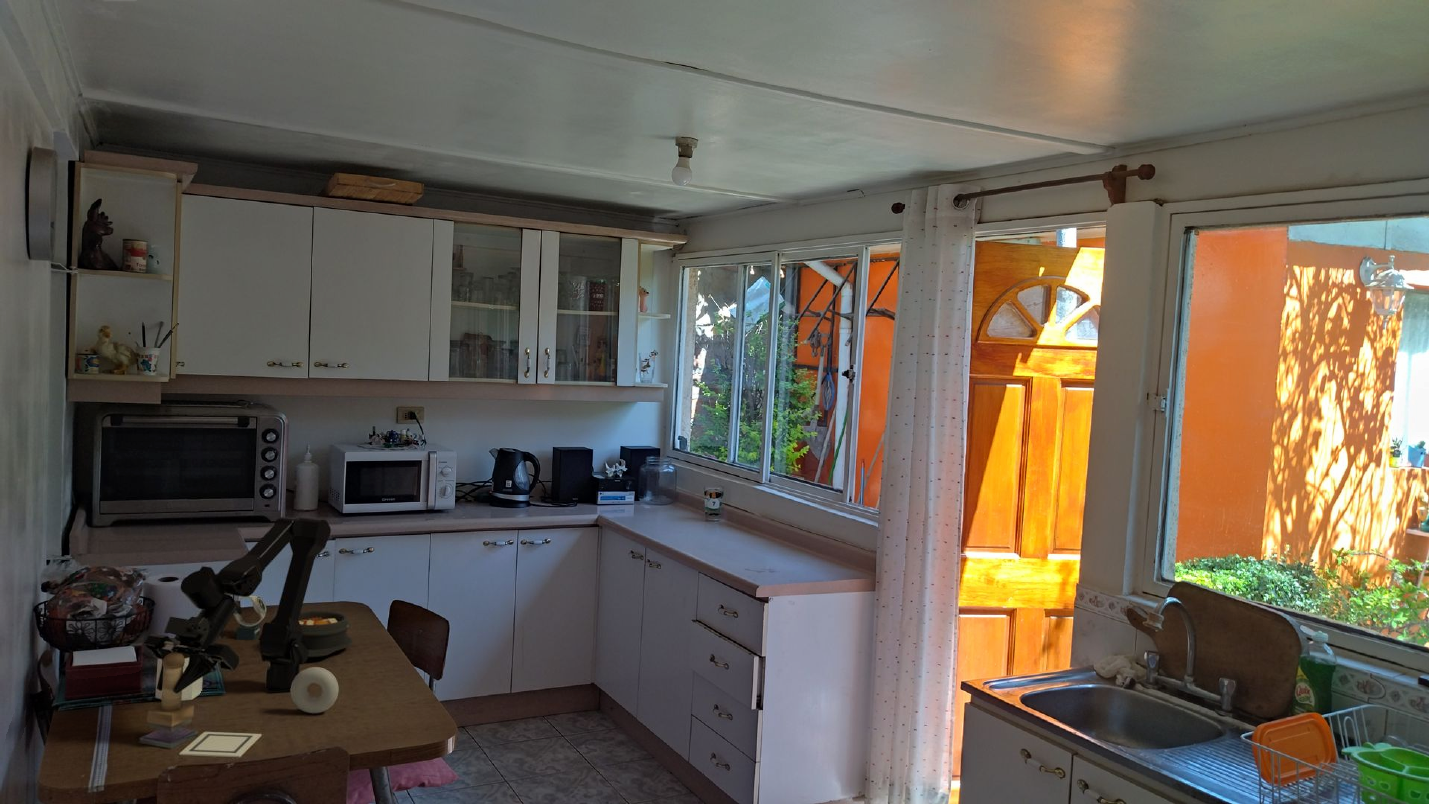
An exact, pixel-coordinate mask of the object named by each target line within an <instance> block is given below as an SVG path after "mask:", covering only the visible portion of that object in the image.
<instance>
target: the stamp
mask: <svg viewBox="0 0 1429 804" xmlns="http://www.w3.org/2000/svg"><path fill="white" fill-rule="evenodd" d="M184 663H185V659H184V656H183V655H182V654H180V653H178V652H172V653H169V654H168V655H166V656H165V658H164V659H163V685H162V700H161V704H160V705H159V706H157V707H155V708H152V709H150V710H147V715H146V716H147V717H146V718H147V719H146V722H147V723H148V728H150V729H151V728H152V729H157V730H159V729H161V730H167V731H173V730H175V729H178V728H183V727H184V726H186V725H188V724H190V723H192V718H194V711H195V706H194V705H190V704H184V703H182V701H181V699H182V691H180V692H179V693H177V694H176V693H174V692H173V690H174V688H175V686H176V684H177V682H178V680H179V679H180V677H181V676H182V674H183V666H184Z"/></svg>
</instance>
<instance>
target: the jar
mask: <svg viewBox="0 0 1429 804" xmlns="http://www.w3.org/2000/svg"><path fill="white" fill-rule="evenodd" d="M169 638H170V639H171V640H172V641H173V642H174V643H175V644H180V641H177V640H176V639H175V637H169ZM183 656H184V659H185V663H184V666H183V672H184V671H185V669H186V667H187V666H188V663H189V657H190V656H185V655H183ZM156 663H157V666H156V667H157V668H156V669H157V670H156V682H155V696H154V697H155V699H158V700H161V701H162V690H161V691H159V690H158V689H157V685H158V680H159V676H160V672H161V667H162V659H158V658H157V662H156ZM203 678H204V676H203V677H201V678H200V679H198V680H196V681H195V682H193V683H192V684H191V685H189V686H188V687H186V688H185V689H183V690H182V699H181V702H185V701H192V700H194V699H196V697H198V696H199V695H201V694H202V693H201V691H202V692H203ZM200 693H201V694H200Z"/></svg>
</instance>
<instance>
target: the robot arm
mask: <svg viewBox="0 0 1429 804" xmlns="http://www.w3.org/2000/svg"><path fill="white" fill-rule="evenodd" d="M331 531H332V529H331V526H330V524H329V523H328V521H327V520H326V519H322V518H321V519H320V518H314V517H306V516H299V517H297V518H295V517H289V516H288V517H286V516H281V517H278V518H277V519H276V520H275V522H274V524H273V526H272V527H271V528H270V529H269V530H268V531H267V532H266V533H265V534H264V536H263V537H261V539H260V540H258V542H257V543H255V545H254V546H253V547H252V548H251V549H250V550H249V551H248V552H247V553H246V554H245V555H243V556H242V557H240V558H237V559H235V560H232V561H230V562H229V563H228V564H227V565H225V566H224V567H222V568H221V569H220V570H219V571H218V572H217V573H215V571H214V569H213V568H212V567H210V566H204V565H202V566H201V567H200V569H199V570H196V571H194V572H192V573H190V574H188V575H187V576H186V577H184V578H183V579H182V581H181V582H180V591H181V592H182V593H183V594H184V595H185V597H187V599H188V600H189V601H190V602H191V604H192V605H194V607H195V608H196V609H199V610H200V611H199V613H198V614H197V616H191V617H189V618H188V619H187V618H182V617H175V616H169V618H168V621H167V623H166V627H165V629H164V631H163V632H164V634H165V635H164V634H159V633H158V634H157V633H152V634H149V635H147V637H146V638H145V640H144V641H143V642H142V646H143V647H145V649H146V650H147V651H148V652H149V653H150V654H152V656H153V657H154V658H156V659H157V660H158V659H162V667H161V672H160V676H159V680H158V685H157V689H158V690H159V691H161V690H162V685H163V659H164V658H165V656H166V655H168V654H169V653H172V652H178V653H180V654H182V655H185V656H190V657H189V663H188V666H187V667H186V669H185V671H184V672H183V674H182V676H181V677H180V679H179V680H178V682H177V684H176V686H175V688H174V690H173V692H174V693H176V694H177V693H179V692H180V691H182V690H183V689H185V688H186V687H188V686H189V685H191V684H192V683H193V682H195V681H196V680H198V679H200V678H201V677H203V678H204V676H206V675H208V674H210V673H215V672H216V671H217V669H216V665H217V664H218V663H219V662H220V663H219V667H220V669H222V670H224V671H229V672H234V671H236V668H237V667H238V665H239V663H240V657H239V655H238V654H237V653H236V652H235V651H234V650H233V648H232V647H230V645H228V644H220V643H216V642H217V641H218V639H222V640H223V639H224V637H226V633H225V632H224V629H225V627H226V626H227V625H228V623H229V621H230V620H231V618H232V617H233V616H234V614H240V615H242V614H243V608H242V606H241V600H240V601H238V600H235V598H234V597H233V596H237V597H240V598H242V597H248V596H250V595H253V593H255V591H256V590H257V588H258V587H259V585H260V584H261V582H262V581H263V573H264V571H265V569H266V568H267V567H268V566H269V565H270V564H271V563H272V562H273V560H274V559H275V558H277V556H278V555H279V554H280V553H281V552H282V551H283V550H284V549H285V548H286V547H287V545H288V544H289V546H290V549H291V552H292V555H291V560H290V563H289V565H288V566H289V567H288V570H287V574H286V576H285V581H284V585H283V589H282V592H281V595H280V600H279V602H278V603H279V604H278V606H277V610H276V614H275V616H274V617H273V618H272V619H271V621H269V622H266V621H265V622H264V623H263V625H262V630H261V632H260V635H259V636H260V637H259V638H258V641H259V643H258V649H259V653H260V656H261V661H262V662H268V666H266V668H265V683H264V684H265V685H264V686H265V688H266V690H267V693H271V694H272V693H282V692H283V693H285V692H291V691H290V689H291V685H292V682H293V680H294V679H295V677H296V675H298V674H299V673H300V665H304V664H305V662H307V661H308V659H309V657H308V654H309V651H308V650H307V649H306V647H305V646H304V645H303V644H302V642H301V640H302V629H301V626H300V623H299V616H300V613H301V612H302V608H303V605H304V600H305V597H306V594H307V590H308V586H309V582H310V577H311V574H312V571H313V566H314V563H315V560H316V557H317V556H319V555H320V553H321V552H322V551H323V550H324V549H325V548H326V545H327V543H328V541H329V538H330V536H331ZM166 634H172V635H175V636H174V638H175V639H176V640H177V641H180V644H175V643H174V642H173V641H172V640H171V639H170V638H171V637H170V636H169V635H166Z"/></svg>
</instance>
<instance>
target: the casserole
mask: <svg viewBox="0 0 1429 804" xmlns="http://www.w3.org/2000/svg"><path fill="white" fill-rule="evenodd" d="M299 623H300V626H301V629H302V640H301V642H302V644H303V645H304V646H305V647H306V649H307V650H308V651H309V654H308V658H320V657H326V656H329V655H330V654H333V653H335V652H338V651H342V650H343V649H346V648H348V647H350V646H351V645H352V644H353V639H352V638H351V637H349V635H348V633H347V632H348V630H349V629H350V627H351V624H350V622H349V621H348V618H347V616H346V615H344V614H342V613H339V612H336V611H335V612H334V611H324V610H316V611H315V610H311V611H303V612H302V611H301V612H300V616H299Z"/></svg>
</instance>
